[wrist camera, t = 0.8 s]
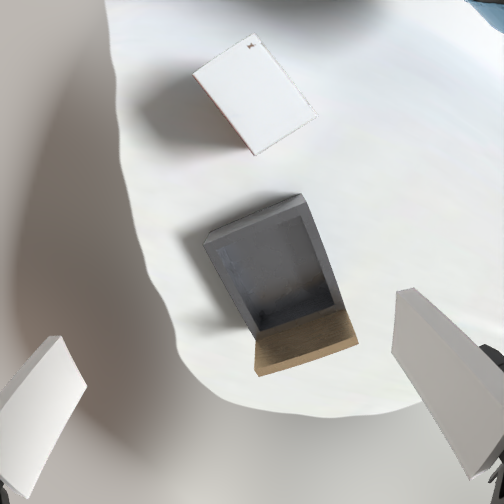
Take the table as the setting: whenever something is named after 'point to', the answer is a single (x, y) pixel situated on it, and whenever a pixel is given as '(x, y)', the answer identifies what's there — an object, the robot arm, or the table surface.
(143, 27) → the table surface
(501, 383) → the robot arm
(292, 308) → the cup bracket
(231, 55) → the small box
